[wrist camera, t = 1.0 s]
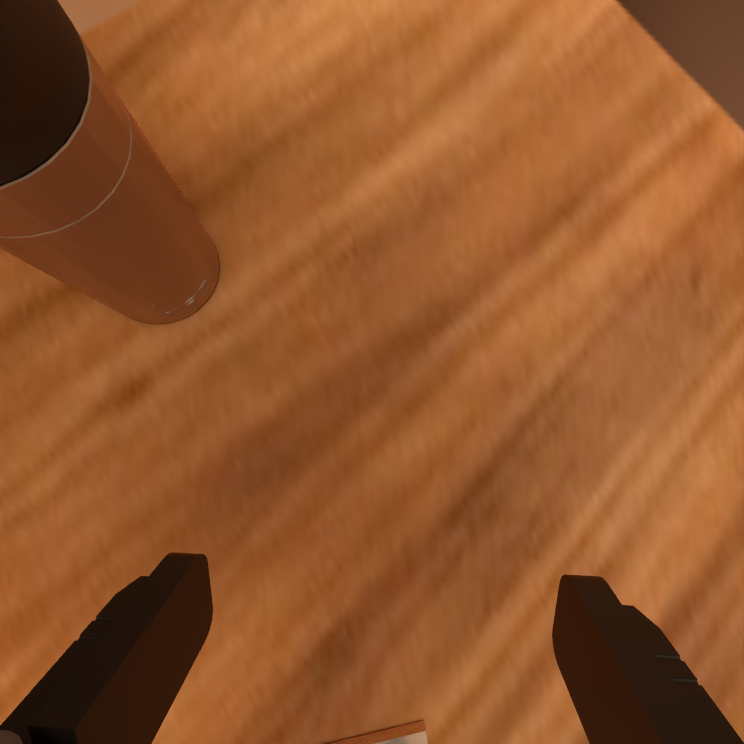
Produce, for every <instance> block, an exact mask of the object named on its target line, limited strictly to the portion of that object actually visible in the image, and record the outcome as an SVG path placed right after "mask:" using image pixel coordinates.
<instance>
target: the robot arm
mask: <svg viewBox="0 0 744 744" xmlns="http://www.w3.org/2000/svg"><path fill="white" fill-rule="evenodd" d="M0 248H1V249H2V250H4V251H6V252H8V253H10V254H12V255H13V256H15V257H17V258H19V259H21V260H23V261H25V262H26V263H28V264H30V265H32V266H34V267H36V268H38V269H39V270H41V271H43V272H45V273H47V274H49V275H51V276H52V277H54V278H56V279H58V280H60V281H62V282H64V283H65V284H67V285H69V286H71V287H73V288H75V289H77V290H78V291H80V292H82V293H84V294H86V295H88V296H90V297H91V298H93V299H95V300H97V301H98V302H100V303H102V304H104V305H106V306H108V307H110V308H112V309H113V310H115V311H117V312H119V313H121V314H123V315H125V316H127V317H129V318H131V319H133V320H136V321H140V322H144V323H149V324H163V323H169V322H175V321H177V320H180V319H183V318H185V317H187V316H189V315H191V314H192V313H194V312H195V311H197V310H198V309H199V308H200V307H201V306H202V305H203V304H204V303H205V302H207V300H208V299H209V297H210V296H211V294H212V293H213V291H214V288H215V286H216V283H217V281H218V275H219V257H218V254H217V251H216V248H215V246H214V244H213V242H212V241H211V239H210V237H209V236H208V234H207V232H206V231H205V229H204V228H203V226H202V225H201V223H200V221H199V220H198V218H197V216H196V215H195V213H194V212H193V210H192V209H191V207H190V205H189V204H188V202H187V201H186V199H185V198H184V196H183V195H182V193H181V191H180V190H179V188H178V187H177V185H176V184H175V182H174V181H173V179H172V177H171V176H170V174H169V173H168V171H167V170H166V168H165V167H164V165H163V163H162V162H161V160H160V159H159V157H158V156H157V154H156V152H155V151H154V149H153V148H152V146H151V145H150V143H149V142H148V140H147V138H146V137H145V135H144V134H143V132H142V131H141V129H140V128H139V126H138V124H137V123H136V121H135V120H134V118H133V117H132V115H131V114H130V112H129V110H128V109H127V107H126V106H125V104H124V103H123V101H122V100H121V98H120V97H119V95H118V94H117V92H116V91H115V89H114V88H113V86H112V85H111V83H110V81H109V80H108V78H107V77H106V75H105V74H104V72H103V71H102V69H101V67H100V66H99V64H98V63H97V61H96V60H95V58H94V57H93V55H92V54H91V52H90V50H89V49H88V47H87V46H86V44H85V43H84V41H83V40H82V38H81V36H80V35H79V34H78V32H77V31H76V29H75V27H74V25H73V24H72V22H71V21H70V19H69V18H68V16H67V15H66V13H65V11H64V10H63V8H62V7H61V5H60V4H59V2H58V1H57V0H0ZM212 615H213V605H212V596H211V587H210V578H209V570H208V562H207V558H206V556H205V555H204V554H190V553H169V554H168V555H166V556H165V558H164V559H163V560H162V561H161V562H160V563H159V565H158V566H157V567H156V568H155V570H154V571H153V572H152V573H151V574H150V576H149V577H148V576H140V577H139V578H138V579H136V580H135V581H134V582H132V583H131V584H129V585H128V586H127V587H125V588H124V589H122V590H121V591H120V592H118V593H117V594H116V595H115V596H114V597H113V598H112V599H111V600H110V601H109V603H108V604H107V605H106V606H105V607H104V608H103V609H102V611H101V612H100V613H99V614H98V615H97V617H96V620H95V621H92V622H91V623H90V624H89V625H88V627H87V628H86V629H85V630H84V631H83V632H82V633H81V635H80V637H79V639H78V641H74V642H73V644H72V645H71V646H70V647H69V648H68V649H67V650H66V652H65V653H64V654H63V655H62V656H61V657H60V658H59V660H58V661H57V662H56V663H55V664H54V665H53V666H52V668H51V669H50V670H49V671H48V672H47V673H46V674H45V676H44V677H43V678H42V679H41V680H40V681H39V682H38V684H37V685H36V686H35V687H34V688H33V689H32V690H31V692H30V693H29V694H28V695H27V696H26V697H25V698H24V700H23V701H22V702H21V703H20V704H19V705H18V706H17V707H16V709H15V710H14V711H13V712H12V713H11V714H10V715H9V717H8V718H7V719H6V720H5V721H4V722H3V723H2V724H1V725H0V744H151V743H152V741H153V740H154V738H155V736H156V734H157V732H158V730H159V728H160V726H161V724H162V722H163V720H164V719H165V717H166V715H167V713H168V711H169V709H170V707H171V705H172V703H173V701H174V699H175V698H176V696H177V694H178V692H179V690H180V688H181V686H182V684H183V682H184V680H185V678H186V677H187V675H188V673H189V671H190V669H191V667H192V665H193V663H194V661H195V659H196V657H197V655H198V654H199V652H200V650H201V648H202V646H203V644H204V642H205V640H206V638H207V635H208V633H209V630H210V626H211V622H212ZM552 638H553V647H554V653H555V657H556V661H557V664H558V666H559V669H560V671H561V674H562V676H563V679H564V681H565V684H566V686H567V689H568V691H569V694H570V696H571V699H572V701H573V703H574V706H575V708H576V711H577V713H578V716H579V718H580V721H581V723H582V726H583V728H584V731H585V733H586V735H587V738H588V740H589V743H590V744H744V743H743V741H742V740H741V738H740V737H739V736H738V734H737V733H736V732H735V730H734V729H733V728H732V726H731V725H730V723H729V722H728V721H727V719H726V718H725V717H724V715H723V714H722V713H721V711H720V710H719V708H718V707H717V706H716V704H715V703H714V702H713V700H712V699H711V698H710V696H709V695H708V693H707V692H706V691H705V689H704V688H703V687H702V686H699V684H698V682H697V678H696V677H695V676H694V674H693V673H692V672H691V670H690V669H689V668H688V666H687V665H686V663H685V662H684V661H681V660H680V655H679V654H678V653H677V651H676V650H675V649H674V647H673V646H672V644H671V643H670V642H669V640H668V639H667V638H666V636H665V635H664V634H663V632H662V631H661V629H660V628H659V627H657V626H656V625H655V624H654V623H653V622H652V621H650V620H649V619H648V618H647V617H646V616H645V615H643V614H642V613H641V612H640V611H639V610H637V609H636V608H635V607H634V606H628V605H622V604H621V603H620V601H619V600H618V598H617V597H616V595H615V594H614V592H613V591H612V589H611V588H610V586H609V585H608V583H607V582H606V581H605V580H604V579H603V578H602V577H599V576H580V575H563V576H562V577H561V580H560V584H559V590H558V597H557V604H556V610H555V617H554V623H553V631H552Z"/></svg>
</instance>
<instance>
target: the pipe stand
mask: <svg viewBox="0 0 744 744" xmlns="http://www.w3.org/2000/svg"><path fill="white" fill-rule="evenodd" d="M329 744H428V742H427V735H426V730H425V727H424V723H423V720H422V721H418V722H414V723H410V724H406V725H402V726H398V727H394V728H390V729H386V730H382V731H377V732H373V733H369V734H365V735H361V736H357V737H353V738H349V739H345V740H341V741H337V742H333V743H329Z"/></svg>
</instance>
